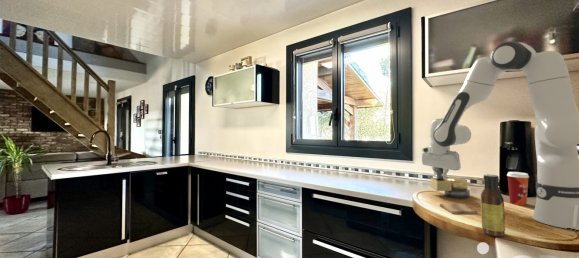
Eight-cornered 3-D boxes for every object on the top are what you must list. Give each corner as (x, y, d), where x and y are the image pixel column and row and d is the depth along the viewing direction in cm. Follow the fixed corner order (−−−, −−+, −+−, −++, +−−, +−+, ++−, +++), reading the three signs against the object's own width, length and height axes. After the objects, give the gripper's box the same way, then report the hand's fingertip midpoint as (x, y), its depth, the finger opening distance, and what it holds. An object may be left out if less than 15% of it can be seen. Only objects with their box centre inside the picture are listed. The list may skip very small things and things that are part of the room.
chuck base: (461, 192, 136) (461, 186, 136) (475, 198, 125) (474, 192, 125) (440, 192, 137) (440, 186, 137) (451, 198, 126) (451, 192, 126)
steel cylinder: (441, 184, 133) (441, 165, 133) (444, 185, 130) (444, 166, 130) (435, 184, 133) (435, 165, 133) (438, 185, 130) (438, 166, 130)
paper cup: (525, 207, 110) (525, 175, 110) (504, 202, 117) (503, 172, 117) (532, 204, 114) (532, 173, 114) (511, 200, 121) (510, 170, 121)
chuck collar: (460, 186, 135) (460, 177, 135) (471, 191, 126) (471, 180, 126) (429, 186, 136) (429, 177, 136) (438, 191, 127) (438, 181, 127)
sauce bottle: (509, 238, 82) (508, 177, 82) (488, 237, 84) (487, 177, 83) (497, 229, 89) (496, 173, 89) (477, 228, 90) (476, 173, 90)
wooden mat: (462, 205, 115) (462, 203, 115) (477, 213, 105) (477, 211, 105) (439, 205, 115) (439, 203, 115) (452, 213, 105) (452, 211, 105)
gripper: (463, 151, 122) (464, 179, 123) (428, 147, 142) (428, 172, 142) (454, 152, 120) (454, 180, 121) (419, 148, 140) (420, 173, 140)
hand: (440, 176), depth 132 cm, fingers closed on steel cylinder, 3 cm apart
